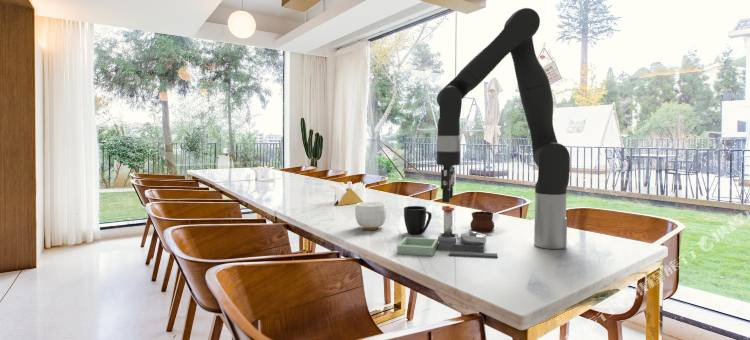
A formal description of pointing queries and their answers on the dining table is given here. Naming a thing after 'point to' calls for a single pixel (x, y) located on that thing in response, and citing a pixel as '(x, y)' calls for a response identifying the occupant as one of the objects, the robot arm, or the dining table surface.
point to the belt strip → (473, 254)
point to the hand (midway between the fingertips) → (447, 200)
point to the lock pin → (448, 220)
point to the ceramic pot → (482, 221)
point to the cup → (370, 214)
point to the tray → (417, 246)
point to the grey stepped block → (463, 242)
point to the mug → (416, 219)
